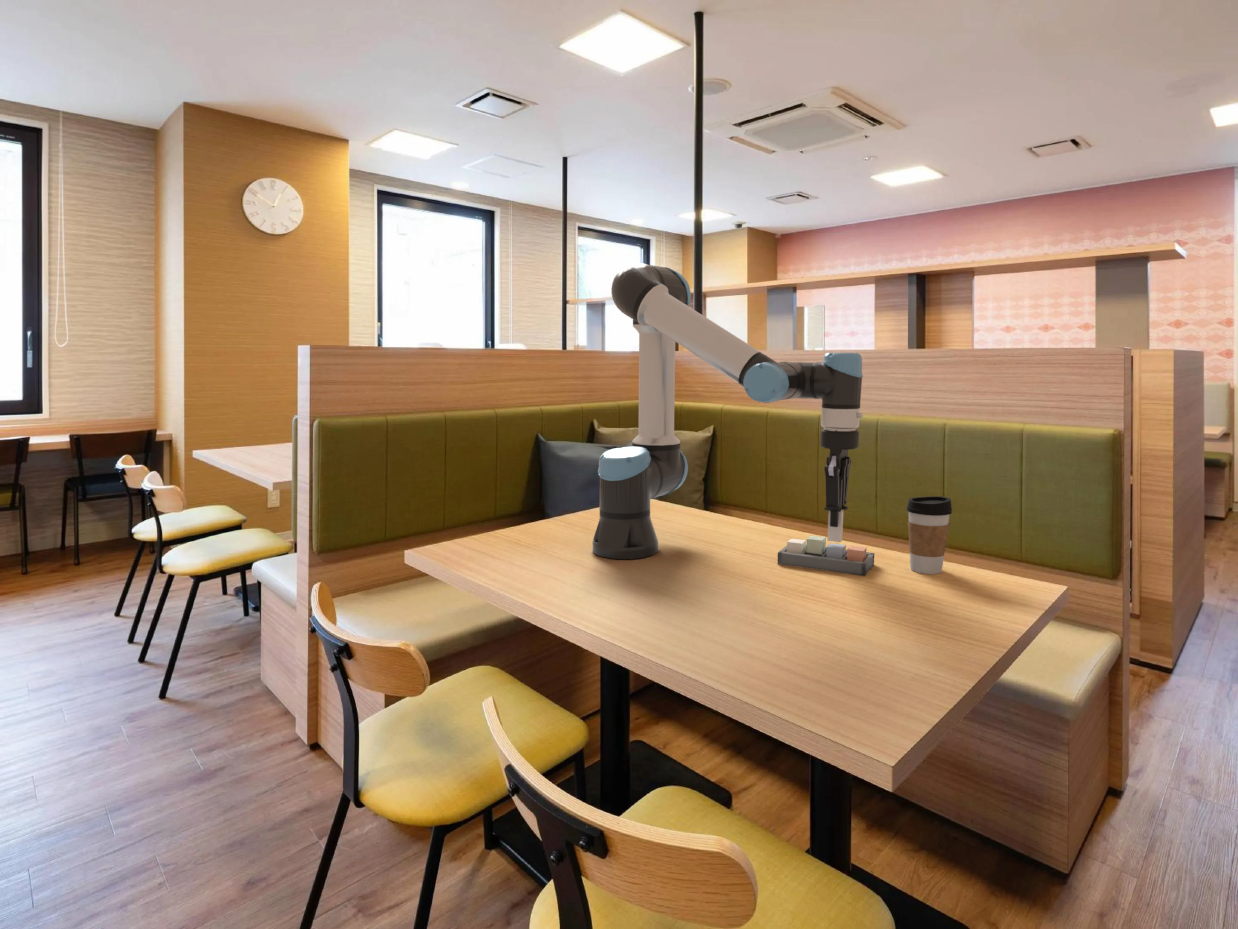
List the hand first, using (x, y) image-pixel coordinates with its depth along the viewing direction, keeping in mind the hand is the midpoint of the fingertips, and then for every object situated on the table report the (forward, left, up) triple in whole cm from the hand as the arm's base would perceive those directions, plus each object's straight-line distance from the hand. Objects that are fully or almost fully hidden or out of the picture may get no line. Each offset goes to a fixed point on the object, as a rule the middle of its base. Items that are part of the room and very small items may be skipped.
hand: (834, 540), depth 146 cm
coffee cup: (+17, +5, -6) cm, 19 cm away
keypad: (-2, 0, -5) cm, 6 cm away
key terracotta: (+5, 0, -4) cm, 6 cm away
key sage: (-4, 0, -3) cm, 5 cm away
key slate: (0, 0, -4) cm, 4 cm away
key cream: (-8, 0, -4) cm, 9 cm away
